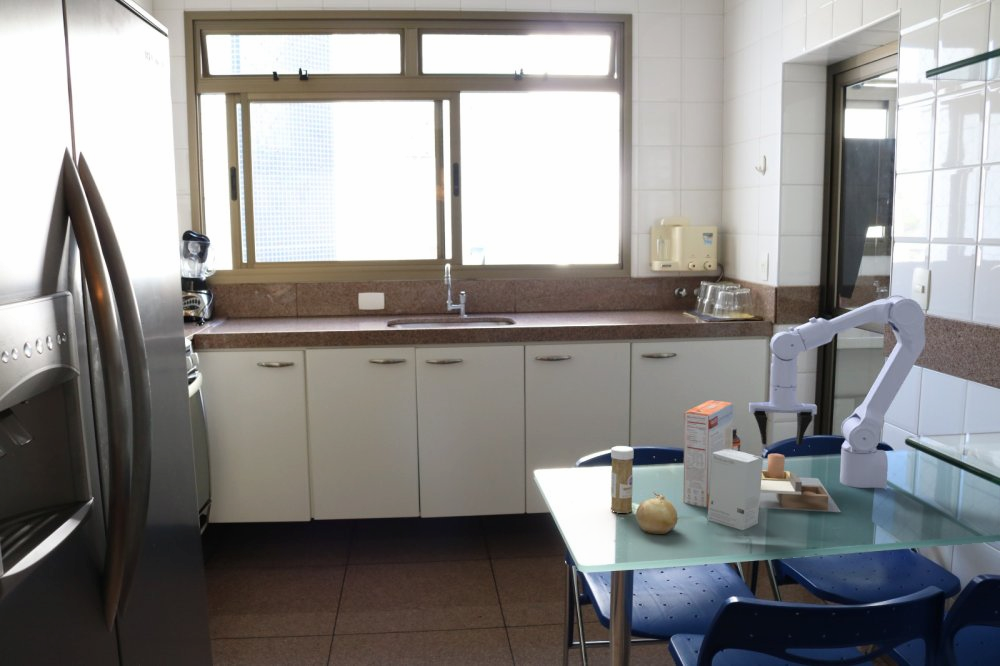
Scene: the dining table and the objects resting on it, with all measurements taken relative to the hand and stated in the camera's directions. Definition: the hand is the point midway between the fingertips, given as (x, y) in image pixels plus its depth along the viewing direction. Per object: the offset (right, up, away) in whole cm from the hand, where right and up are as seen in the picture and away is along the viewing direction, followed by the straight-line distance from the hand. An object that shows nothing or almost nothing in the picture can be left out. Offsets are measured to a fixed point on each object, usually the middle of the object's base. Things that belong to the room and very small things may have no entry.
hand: (781, 443), depth 193 cm
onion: (-34, -14, -28) cm, 46 cm away
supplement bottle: (-10, -9, +8) cm, 16 cm away
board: (-1, -11, -9) cm, 14 cm away
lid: (-6, -7, -16) cm, 18 cm away
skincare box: (-18, -13, -26) cm, 35 cm away
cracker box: (-20, -11, -11) cm, 25 cm away
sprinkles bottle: (-39, -12, -17) cm, 44 cm away
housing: (-1, -10, -16) cm, 19 cm away
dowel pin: (-2, -8, -1) cm, 9 cm away
